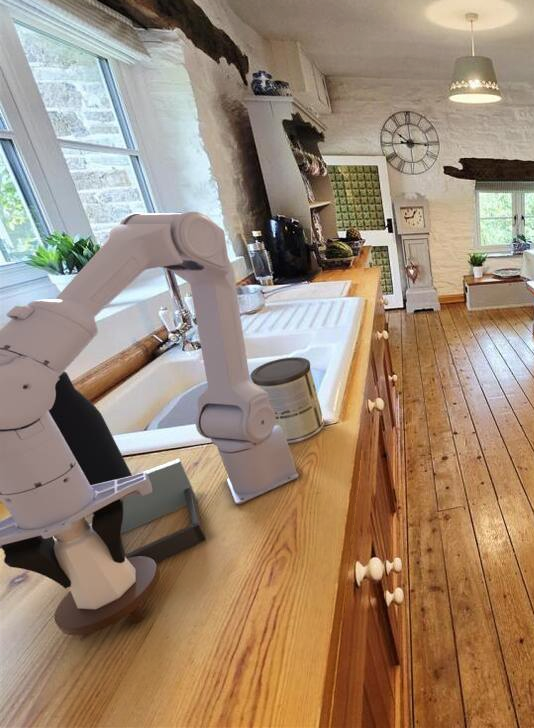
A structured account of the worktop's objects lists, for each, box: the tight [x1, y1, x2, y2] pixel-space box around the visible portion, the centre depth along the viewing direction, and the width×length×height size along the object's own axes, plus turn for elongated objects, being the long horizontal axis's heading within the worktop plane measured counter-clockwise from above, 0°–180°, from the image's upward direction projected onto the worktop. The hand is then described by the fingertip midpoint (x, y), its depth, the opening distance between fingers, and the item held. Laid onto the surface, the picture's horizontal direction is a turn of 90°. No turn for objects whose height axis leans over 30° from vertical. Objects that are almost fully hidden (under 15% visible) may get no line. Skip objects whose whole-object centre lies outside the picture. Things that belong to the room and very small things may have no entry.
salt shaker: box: [53, 516, 136, 609], centre depth 46 cm, size 5×5×11 cm
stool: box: [53, 556, 161, 636], centre depth 49 cm, size 9×9×4 cm
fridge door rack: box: [91, 458, 206, 564], centre depth 58 cm, size 11×11×8 cm
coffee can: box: [249, 356, 325, 445], centre depth 82 cm, size 10×10×14 cm
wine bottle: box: [49, 371, 133, 485], centre depth 62 cm, size 6×6×30 cm
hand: (95, 569), depth 47 cm, fingers closed on salt shaker, 4 cm apart
